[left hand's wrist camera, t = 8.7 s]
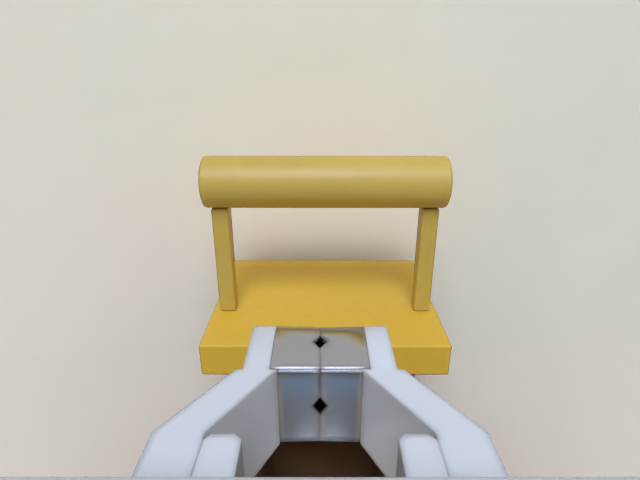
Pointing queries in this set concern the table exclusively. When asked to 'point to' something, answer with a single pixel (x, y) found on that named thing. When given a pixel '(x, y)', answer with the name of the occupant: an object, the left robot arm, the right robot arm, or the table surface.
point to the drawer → (325, 275)
